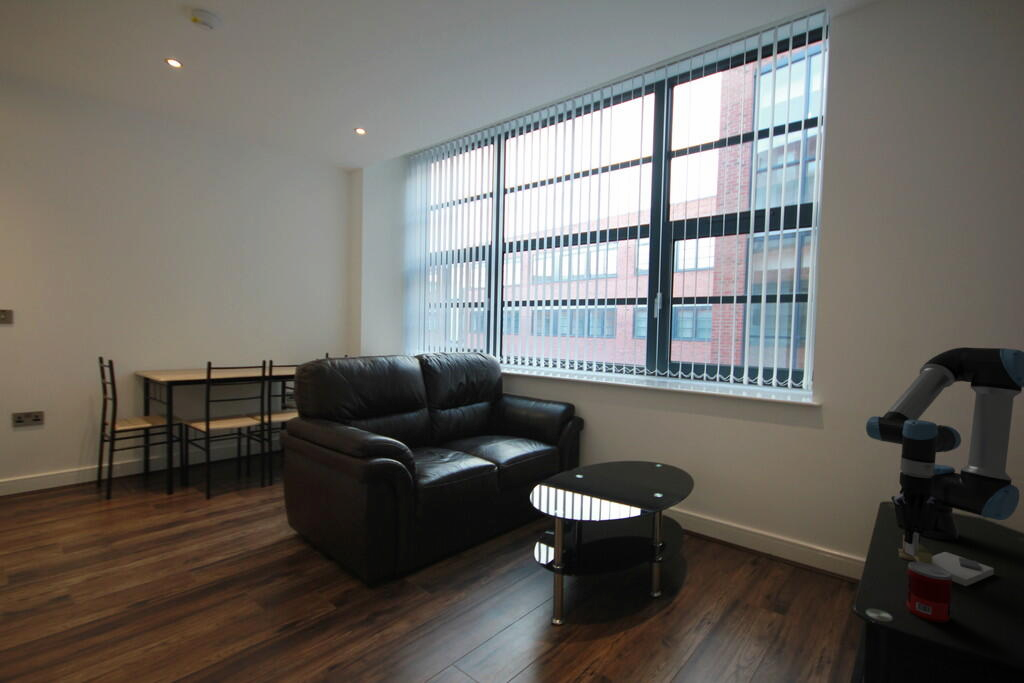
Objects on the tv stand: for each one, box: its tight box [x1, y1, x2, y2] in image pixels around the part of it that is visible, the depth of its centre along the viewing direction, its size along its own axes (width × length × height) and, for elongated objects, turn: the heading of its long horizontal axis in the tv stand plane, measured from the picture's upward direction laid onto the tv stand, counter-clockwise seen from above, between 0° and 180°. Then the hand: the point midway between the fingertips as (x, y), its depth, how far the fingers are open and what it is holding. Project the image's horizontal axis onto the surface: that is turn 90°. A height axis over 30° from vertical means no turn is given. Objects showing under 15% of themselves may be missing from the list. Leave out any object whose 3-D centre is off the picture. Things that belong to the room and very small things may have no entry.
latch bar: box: [902, 533, 933, 564], centre depth 141 cm, size 12×4×5 cm, turn 159°
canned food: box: [906, 561, 953, 624], centre depth 115 cm, size 8×8×11 cm
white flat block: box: [932, 551, 995, 587], centre depth 137 cm, size 16×11×3 cm
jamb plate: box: [898, 548, 918, 562], centre depth 145 cm, size 5×5×1 cm
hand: (911, 554), depth 138 cm, fingers closed
